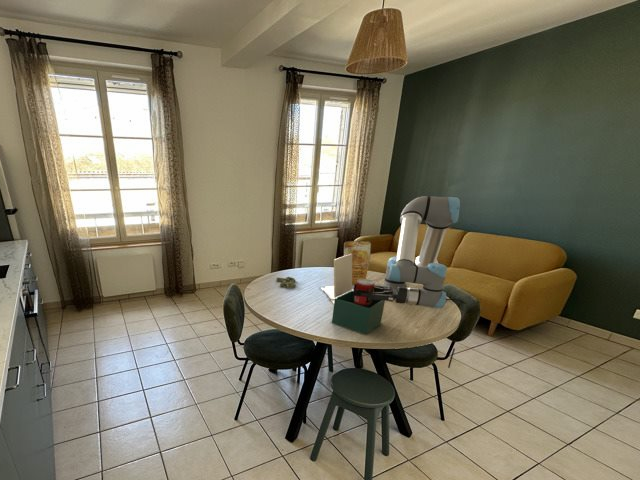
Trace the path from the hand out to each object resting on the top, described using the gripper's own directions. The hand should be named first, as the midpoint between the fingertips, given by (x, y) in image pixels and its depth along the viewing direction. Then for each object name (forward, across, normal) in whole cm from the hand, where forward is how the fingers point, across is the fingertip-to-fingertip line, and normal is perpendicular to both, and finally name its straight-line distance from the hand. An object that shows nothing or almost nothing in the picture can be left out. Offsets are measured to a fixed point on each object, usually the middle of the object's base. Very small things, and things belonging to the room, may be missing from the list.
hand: (353, 289), depth 156 cm
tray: (+5, +39, -18) cm, 43 cm away
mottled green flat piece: (+42, +48, -18) cm, 66 cm away
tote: (-3, +1, -17) cm, 18 cm away
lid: (+5, +5, +5) cm, 9 cm away
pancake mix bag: (0, +66, -18) cm, 68 cm away
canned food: (-5, 0, -6) cm, 8 cm away
